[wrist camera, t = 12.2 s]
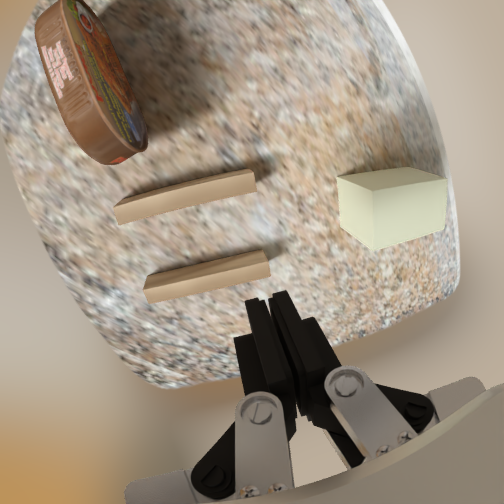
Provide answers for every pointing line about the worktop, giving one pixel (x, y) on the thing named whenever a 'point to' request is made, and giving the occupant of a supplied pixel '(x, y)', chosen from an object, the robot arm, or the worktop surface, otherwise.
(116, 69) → the tin
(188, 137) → the worktop surface
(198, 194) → the chute
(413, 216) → the block
